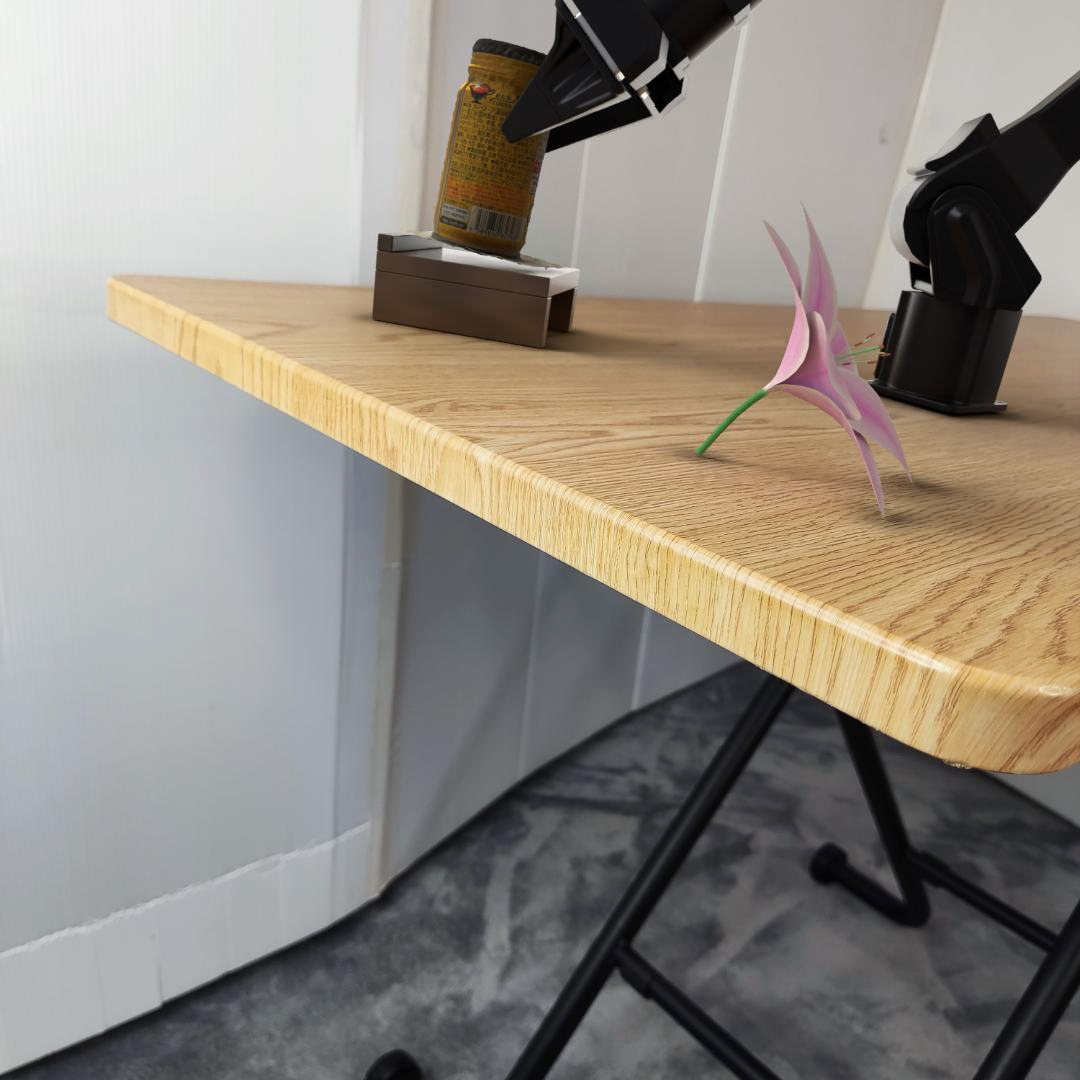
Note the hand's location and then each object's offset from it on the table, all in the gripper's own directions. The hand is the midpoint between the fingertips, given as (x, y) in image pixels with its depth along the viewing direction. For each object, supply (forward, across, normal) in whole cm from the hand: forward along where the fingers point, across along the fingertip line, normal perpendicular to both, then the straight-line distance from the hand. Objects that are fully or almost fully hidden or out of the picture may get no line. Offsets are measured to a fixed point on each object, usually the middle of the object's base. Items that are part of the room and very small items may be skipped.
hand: (523, 142), depth 59 cm
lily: (-5, +25, +22) cm, 34 cm away
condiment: (+6, 0, +4) cm, 7 cm away
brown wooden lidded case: (+9, 0, +7) cm, 12 cm away
